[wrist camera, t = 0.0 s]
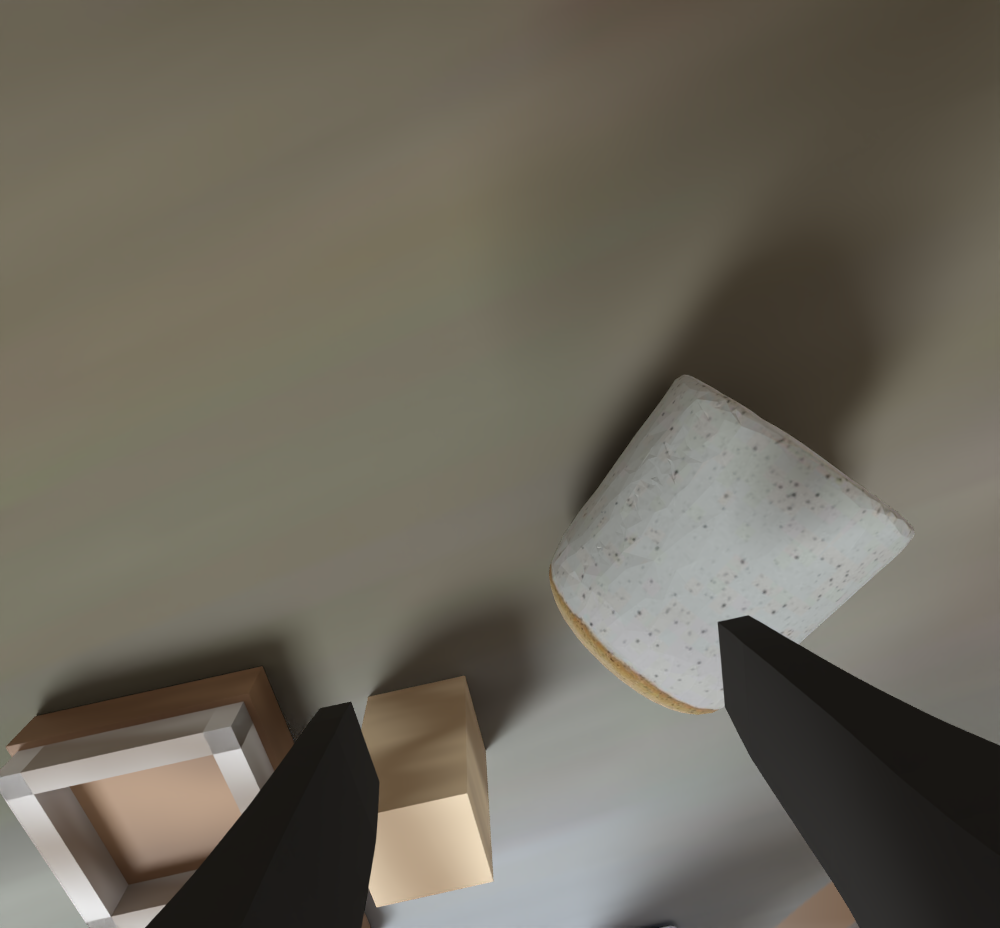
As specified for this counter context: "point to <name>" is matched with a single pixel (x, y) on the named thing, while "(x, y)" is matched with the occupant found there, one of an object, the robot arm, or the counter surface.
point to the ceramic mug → (712, 545)
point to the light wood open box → (143, 788)
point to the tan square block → (428, 792)
